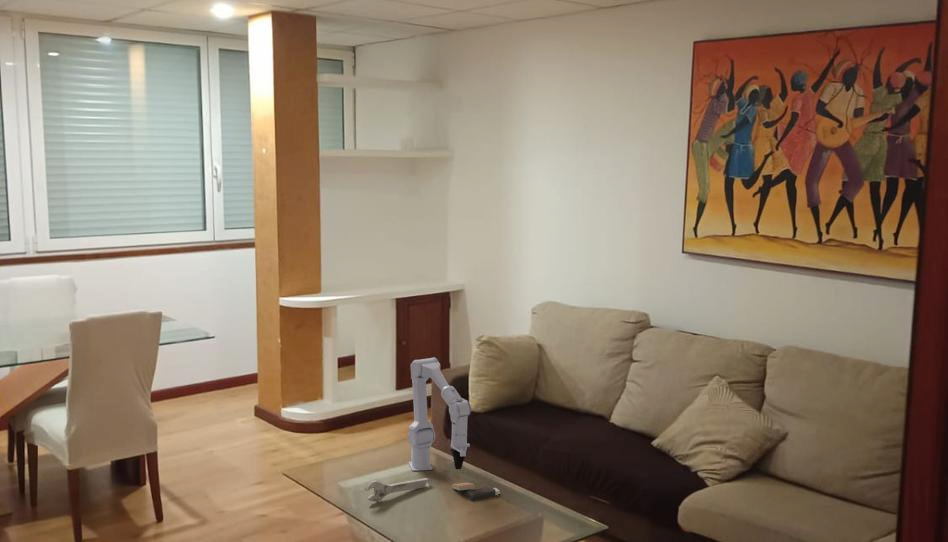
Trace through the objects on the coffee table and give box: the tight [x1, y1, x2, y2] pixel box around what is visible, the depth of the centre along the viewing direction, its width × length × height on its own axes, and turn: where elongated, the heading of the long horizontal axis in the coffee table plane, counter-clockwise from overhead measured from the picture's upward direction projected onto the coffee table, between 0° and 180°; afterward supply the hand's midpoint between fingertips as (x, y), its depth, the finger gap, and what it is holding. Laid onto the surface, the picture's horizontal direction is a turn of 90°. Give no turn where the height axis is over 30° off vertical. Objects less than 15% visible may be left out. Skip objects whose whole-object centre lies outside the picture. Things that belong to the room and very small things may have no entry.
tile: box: [451, 482, 476, 491], centre depth 298 cm, size 2×6×8 cm
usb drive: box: [464, 486, 501, 502], centre depth 295 cm, size 5×12×3 cm, turn 118°
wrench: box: [364, 477, 432, 503], centre depth 293 cm, size 8×2×30 cm
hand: (458, 468), depth 303 cm, fingers closed
